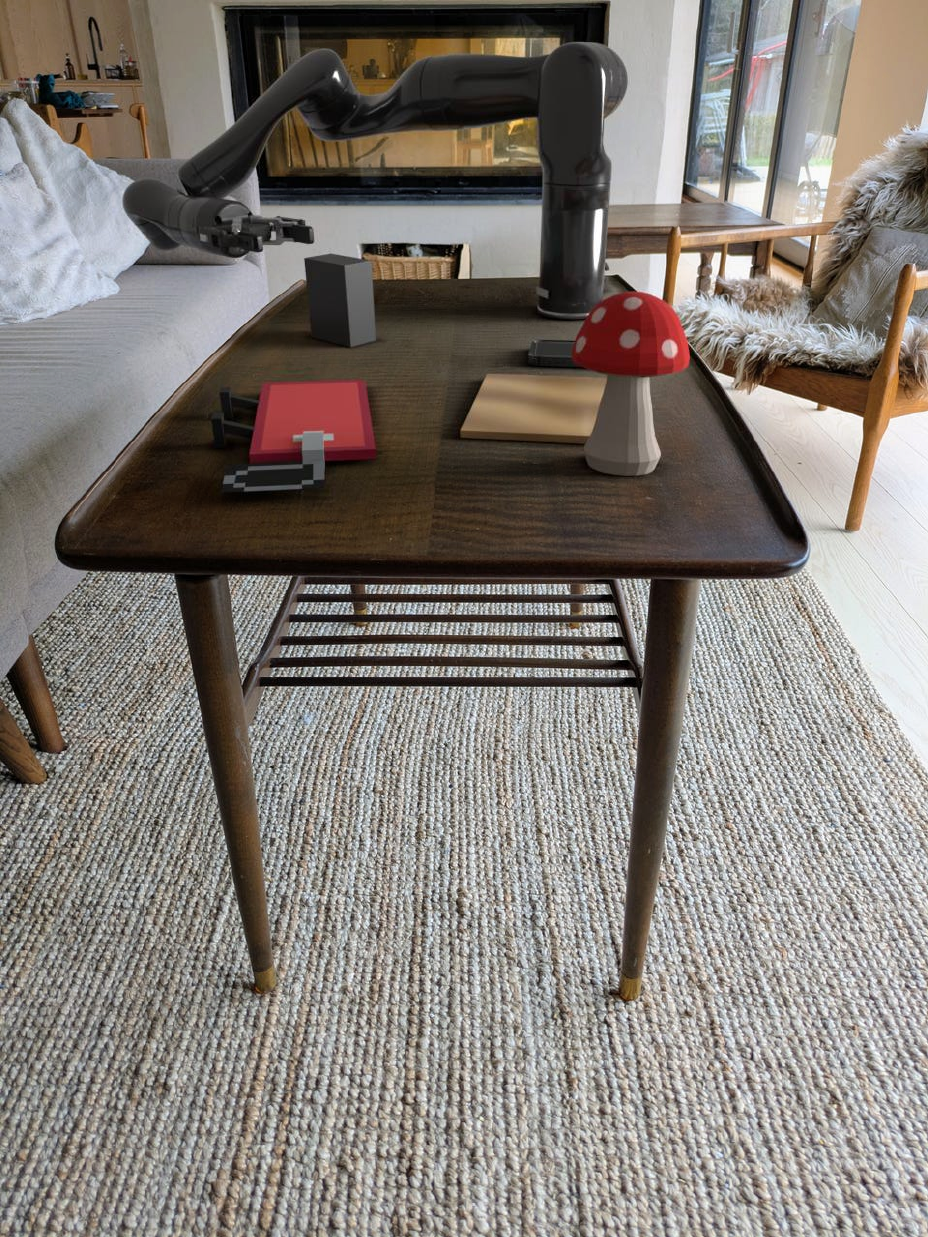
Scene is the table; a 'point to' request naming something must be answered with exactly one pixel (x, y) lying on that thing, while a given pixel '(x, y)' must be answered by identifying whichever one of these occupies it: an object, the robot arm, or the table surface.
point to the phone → (551, 353)
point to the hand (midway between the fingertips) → (286, 239)
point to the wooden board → (535, 408)
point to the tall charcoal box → (341, 299)
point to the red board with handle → (296, 433)
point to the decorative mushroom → (628, 376)
